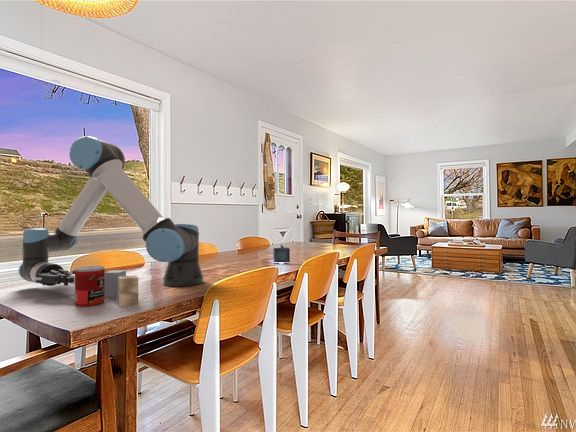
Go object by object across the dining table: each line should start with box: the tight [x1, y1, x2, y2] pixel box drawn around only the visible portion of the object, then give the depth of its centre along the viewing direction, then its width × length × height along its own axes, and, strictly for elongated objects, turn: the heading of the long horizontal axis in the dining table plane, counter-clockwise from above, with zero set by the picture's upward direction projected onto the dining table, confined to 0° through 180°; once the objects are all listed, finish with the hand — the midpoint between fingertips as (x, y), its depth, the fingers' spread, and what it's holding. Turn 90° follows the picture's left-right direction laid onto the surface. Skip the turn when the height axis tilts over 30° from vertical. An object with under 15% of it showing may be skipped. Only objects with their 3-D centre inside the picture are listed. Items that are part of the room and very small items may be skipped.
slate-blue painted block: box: [104, 269, 127, 298], centre depth 115 cm, size 5×5×8 cm
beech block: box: [117, 274, 139, 307], centre depth 104 cm, size 5×5×8 cm
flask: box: [272, 244, 291, 263], centre depth 190 cm, size 9×3×11 cm, turn 84°
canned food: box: [74, 265, 106, 308], centre depth 103 cm, size 8×8×11 cm
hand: (81, 280), depth 106 cm, fingers closed
